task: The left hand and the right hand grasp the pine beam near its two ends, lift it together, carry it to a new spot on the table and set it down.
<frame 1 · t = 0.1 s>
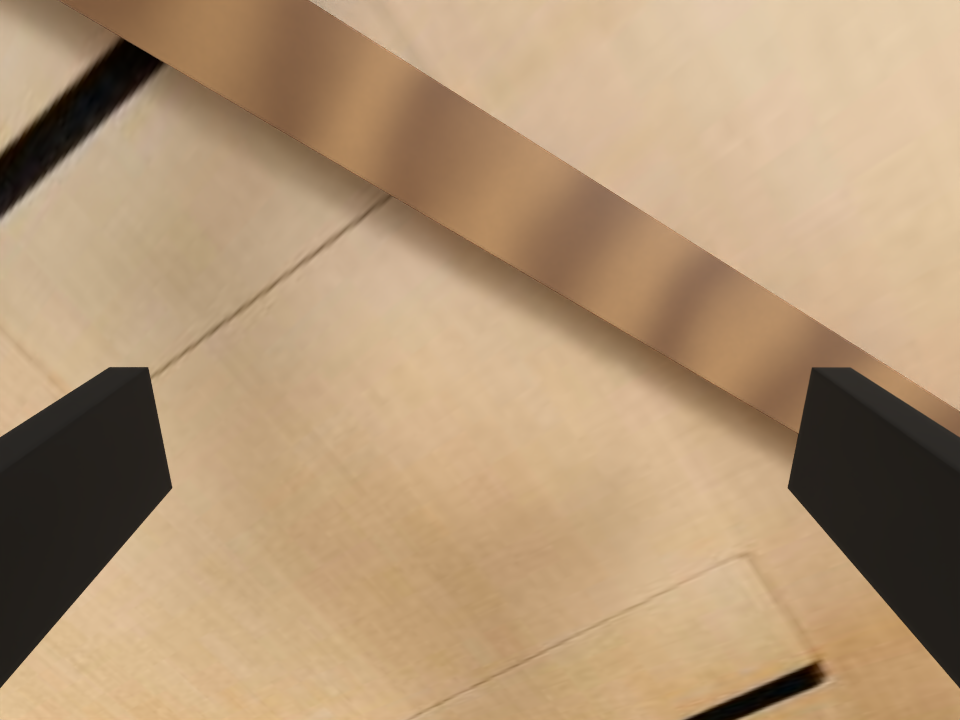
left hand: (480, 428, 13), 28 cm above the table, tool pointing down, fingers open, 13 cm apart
beam: (557, 218, 39), on the table
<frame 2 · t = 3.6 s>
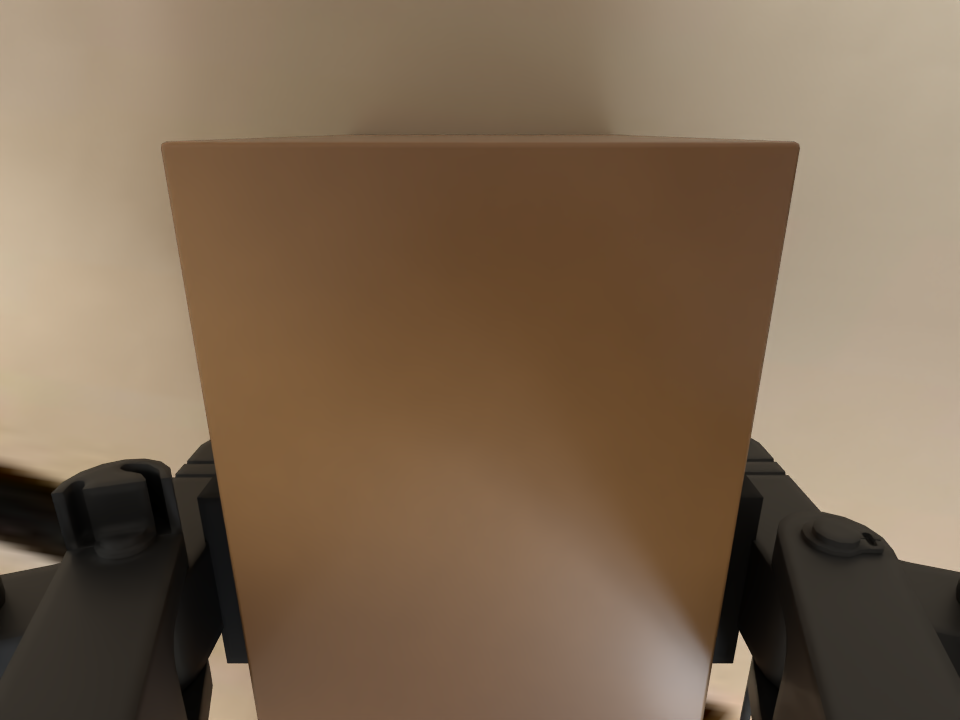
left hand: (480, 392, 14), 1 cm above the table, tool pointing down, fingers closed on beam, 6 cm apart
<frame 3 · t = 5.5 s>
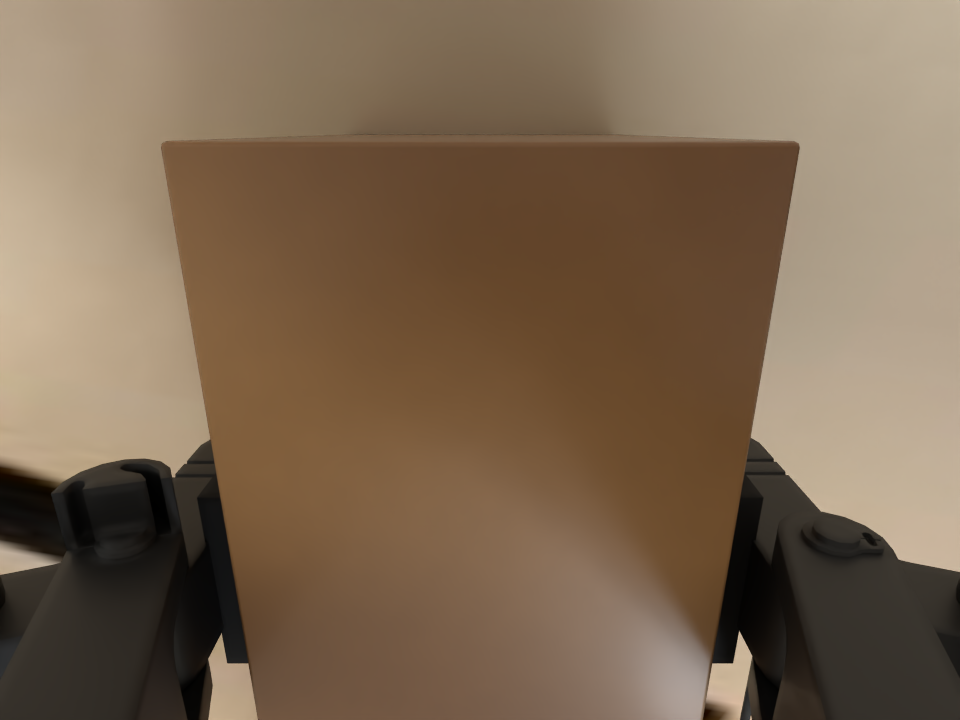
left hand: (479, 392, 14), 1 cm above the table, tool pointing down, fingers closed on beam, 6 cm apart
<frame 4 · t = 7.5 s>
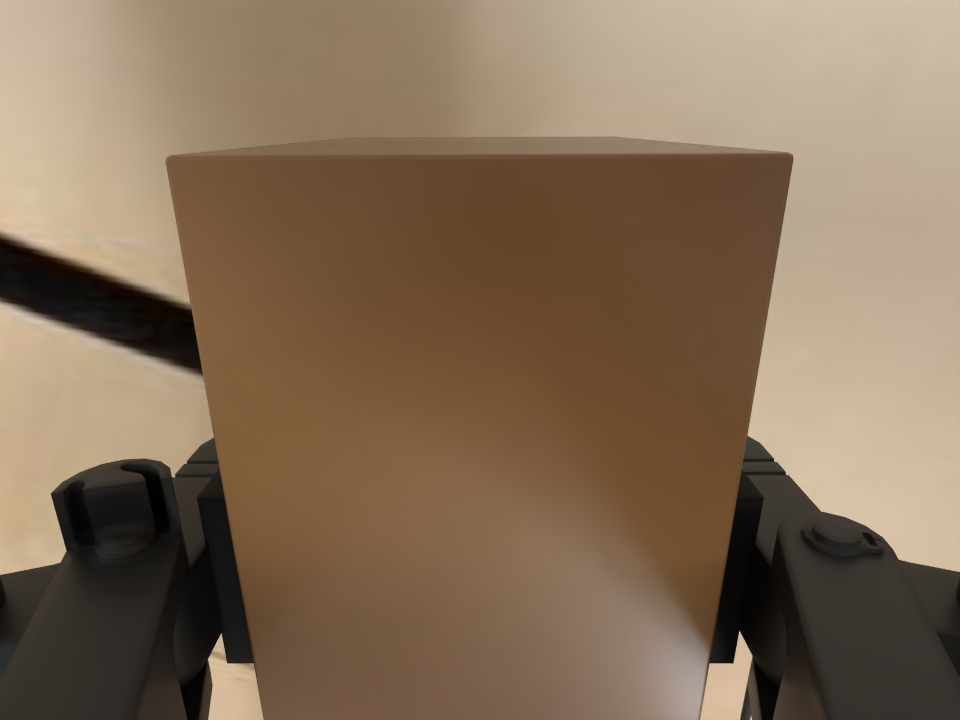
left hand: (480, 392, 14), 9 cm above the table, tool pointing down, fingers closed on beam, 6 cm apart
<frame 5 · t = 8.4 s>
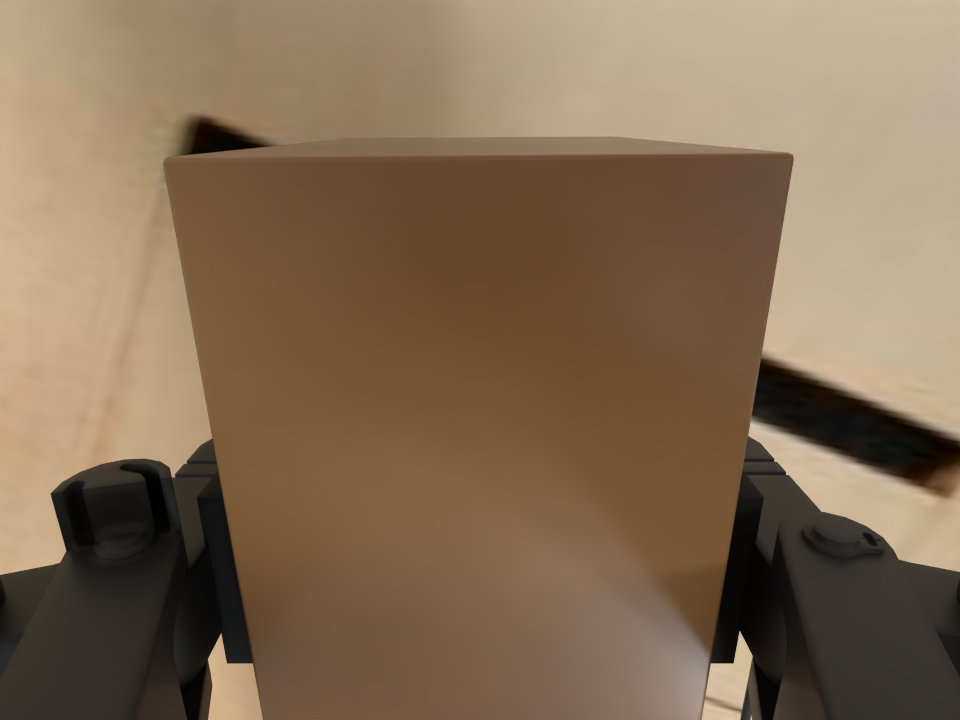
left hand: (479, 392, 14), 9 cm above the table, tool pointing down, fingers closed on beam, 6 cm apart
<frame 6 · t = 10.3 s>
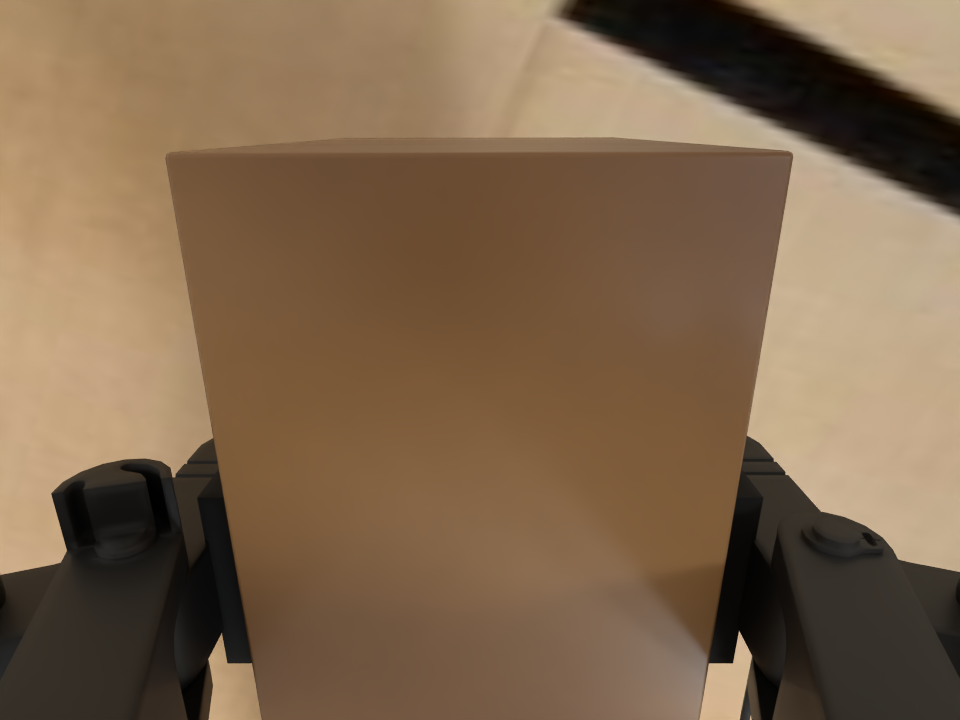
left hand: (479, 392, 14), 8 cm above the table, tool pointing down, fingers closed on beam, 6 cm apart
when the left hand's fingers open (2 cm above the table, at t = 11.4 s): beam stays where it is, on the table.
when the right hand's fingers open (4 cm above the table, at t = 11.6 s): beam stays where it is, on the table.
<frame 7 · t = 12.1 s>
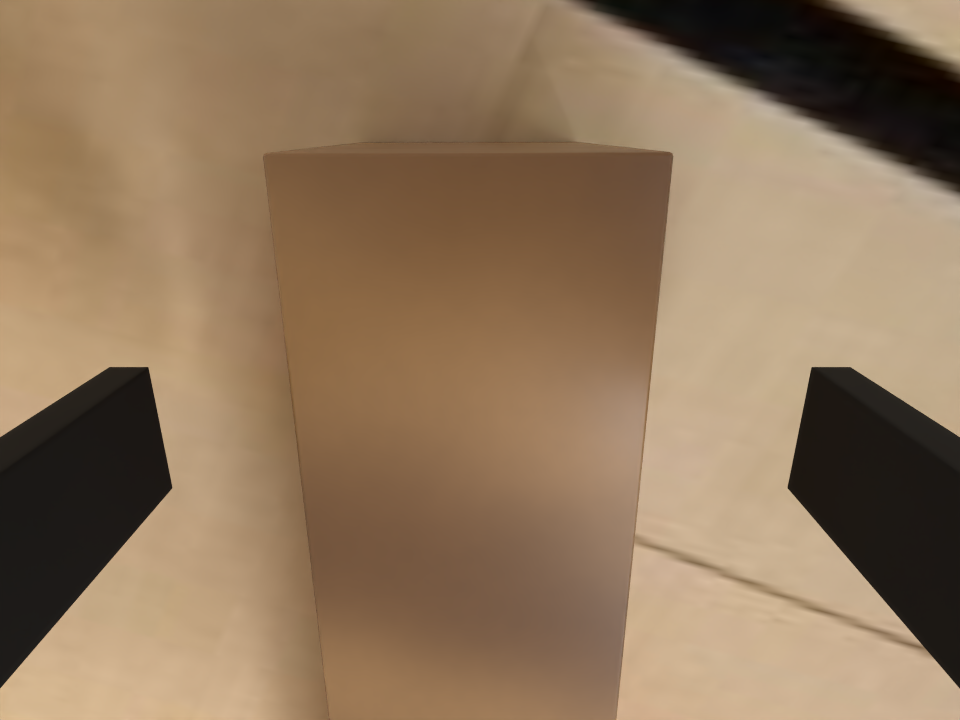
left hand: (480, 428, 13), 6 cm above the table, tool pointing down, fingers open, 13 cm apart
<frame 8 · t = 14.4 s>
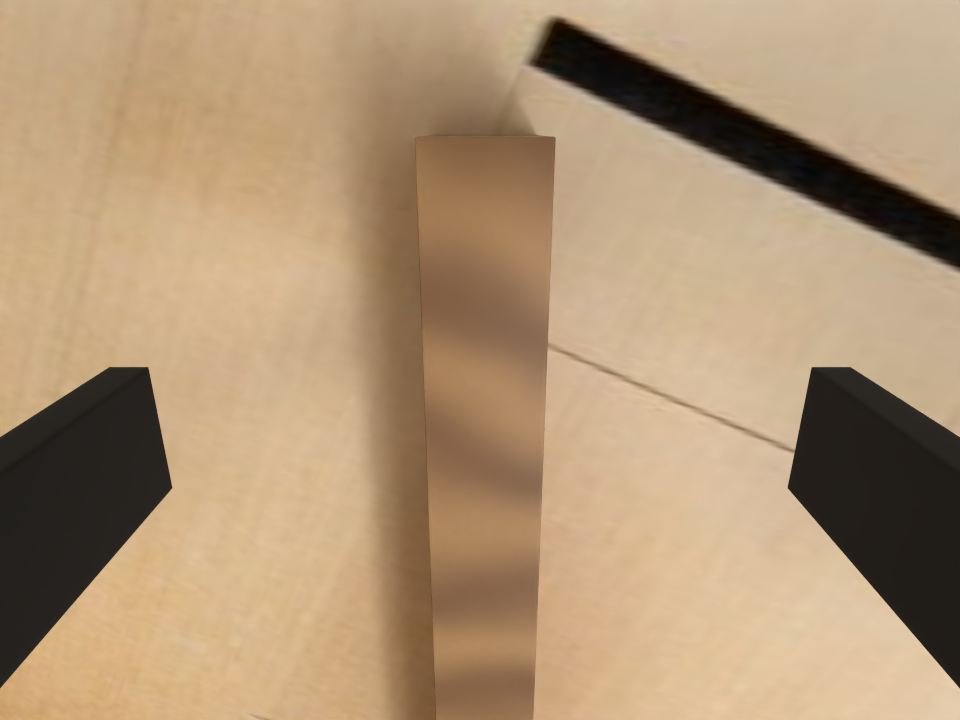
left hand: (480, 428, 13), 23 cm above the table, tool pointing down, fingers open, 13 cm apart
beam: (483, 687, 45), on the table
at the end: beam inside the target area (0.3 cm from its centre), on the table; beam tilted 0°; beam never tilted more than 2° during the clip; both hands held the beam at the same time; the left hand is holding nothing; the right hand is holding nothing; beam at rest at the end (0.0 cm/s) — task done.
